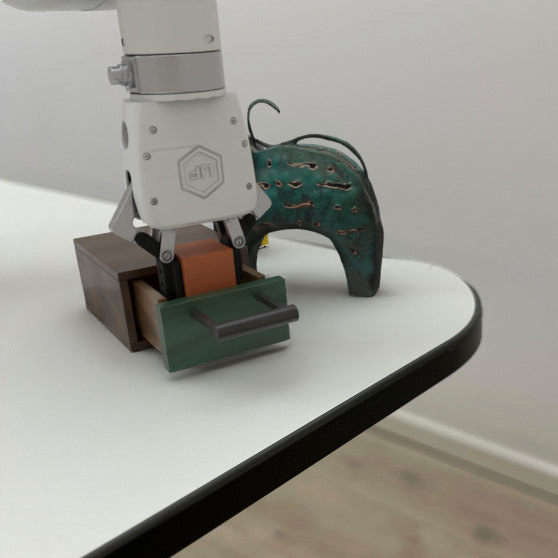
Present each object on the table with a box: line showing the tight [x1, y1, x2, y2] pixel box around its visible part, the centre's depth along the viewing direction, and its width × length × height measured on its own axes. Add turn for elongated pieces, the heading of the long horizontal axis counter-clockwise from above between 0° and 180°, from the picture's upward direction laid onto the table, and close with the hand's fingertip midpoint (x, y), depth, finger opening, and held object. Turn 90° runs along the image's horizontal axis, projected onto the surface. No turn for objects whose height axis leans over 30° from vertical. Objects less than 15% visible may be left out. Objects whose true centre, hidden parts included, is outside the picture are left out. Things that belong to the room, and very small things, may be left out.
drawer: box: [128, 263, 300, 374], centre depth 68 cm, size 20×11×6 cm, turn 34°
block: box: [174, 239, 236, 297], centre depth 67 cm, size 4×4×4 cm
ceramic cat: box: [213, 98, 385, 297], centre depth 80 cm, size 20×6×20 cm, turn 75°
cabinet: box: [72, 224, 250, 353], centre depth 77 cm, size 15×13×8 cm
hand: (203, 293), depth 68 cm, fingers closed on block, 4 cm apart
